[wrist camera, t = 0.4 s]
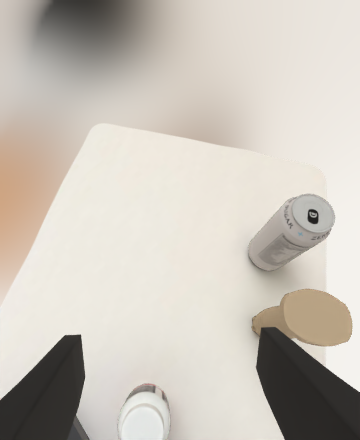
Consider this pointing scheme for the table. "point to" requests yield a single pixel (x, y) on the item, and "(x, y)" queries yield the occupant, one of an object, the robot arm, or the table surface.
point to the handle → (308, 318)
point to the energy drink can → (292, 231)
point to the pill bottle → (145, 415)
